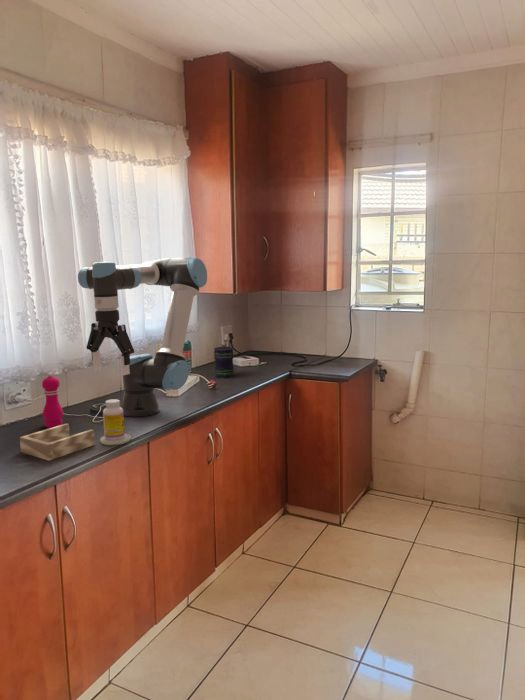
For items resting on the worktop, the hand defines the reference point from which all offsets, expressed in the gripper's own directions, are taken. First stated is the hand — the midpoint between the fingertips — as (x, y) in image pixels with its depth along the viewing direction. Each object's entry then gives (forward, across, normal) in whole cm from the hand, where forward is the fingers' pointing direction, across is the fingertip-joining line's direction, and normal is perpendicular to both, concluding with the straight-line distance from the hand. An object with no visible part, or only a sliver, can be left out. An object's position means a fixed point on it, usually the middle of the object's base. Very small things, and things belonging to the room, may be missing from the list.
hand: (111, 372), depth 186 cm
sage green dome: (+23, +2, -2) cm, 23 cm away
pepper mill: (+23, -32, -1) cm, 40 cm away
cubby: (+23, -9, -17) cm, 30 cm away
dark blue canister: (+25, -28, +100) cm, 107 cm away
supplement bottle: (+22, +1, -2) cm, 22 cm away
